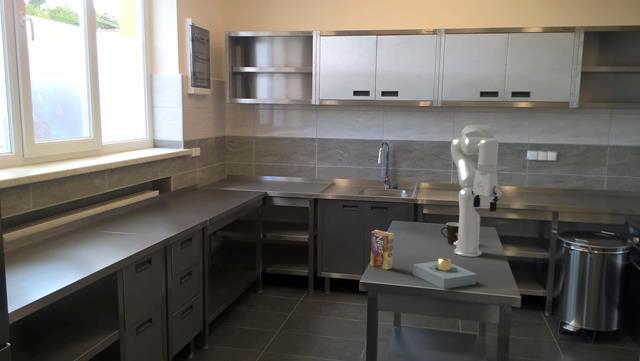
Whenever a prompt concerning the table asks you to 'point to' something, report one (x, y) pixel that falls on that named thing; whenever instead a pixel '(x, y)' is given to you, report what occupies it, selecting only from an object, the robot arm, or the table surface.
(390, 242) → the candy box
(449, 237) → the coffee mug
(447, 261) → the bushing
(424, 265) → the plate
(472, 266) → the table surface
